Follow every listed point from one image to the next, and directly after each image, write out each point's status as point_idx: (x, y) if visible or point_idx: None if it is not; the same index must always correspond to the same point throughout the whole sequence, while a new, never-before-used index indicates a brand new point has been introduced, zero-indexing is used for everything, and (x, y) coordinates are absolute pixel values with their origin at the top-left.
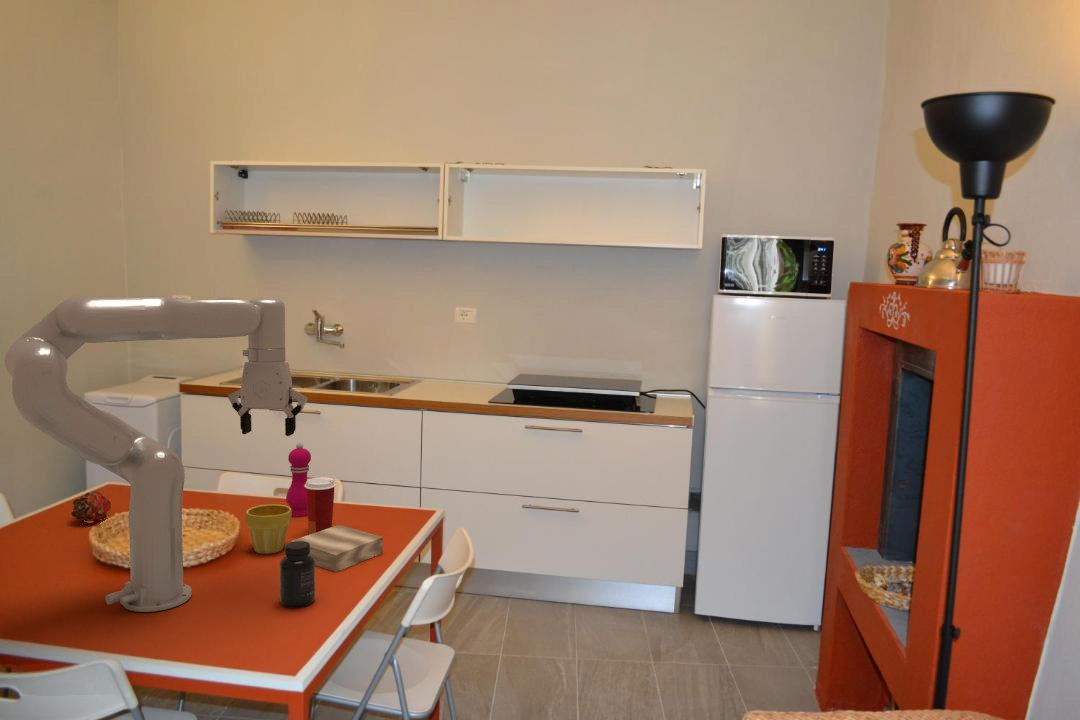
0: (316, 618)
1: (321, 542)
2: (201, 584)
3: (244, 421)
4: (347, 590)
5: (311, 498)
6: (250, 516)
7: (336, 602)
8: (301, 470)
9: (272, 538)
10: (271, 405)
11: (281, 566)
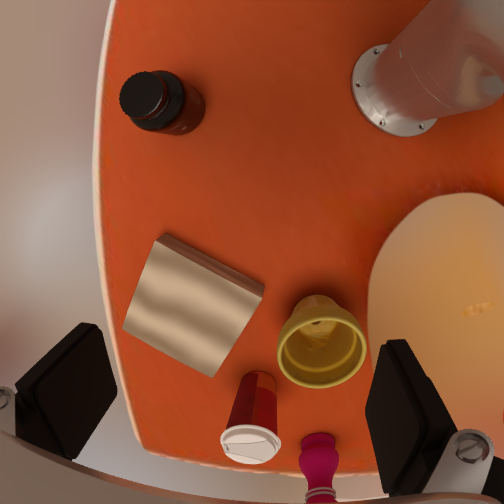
0: (136, 69)
1: (204, 296)
2: (364, 151)
3: (414, 398)
4: (125, 166)
5: (260, 414)
6: (348, 320)
7: (126, 122)
8: (314, 491)
9: (302, 307)
10: (15, 478)
11: (177, 76)
